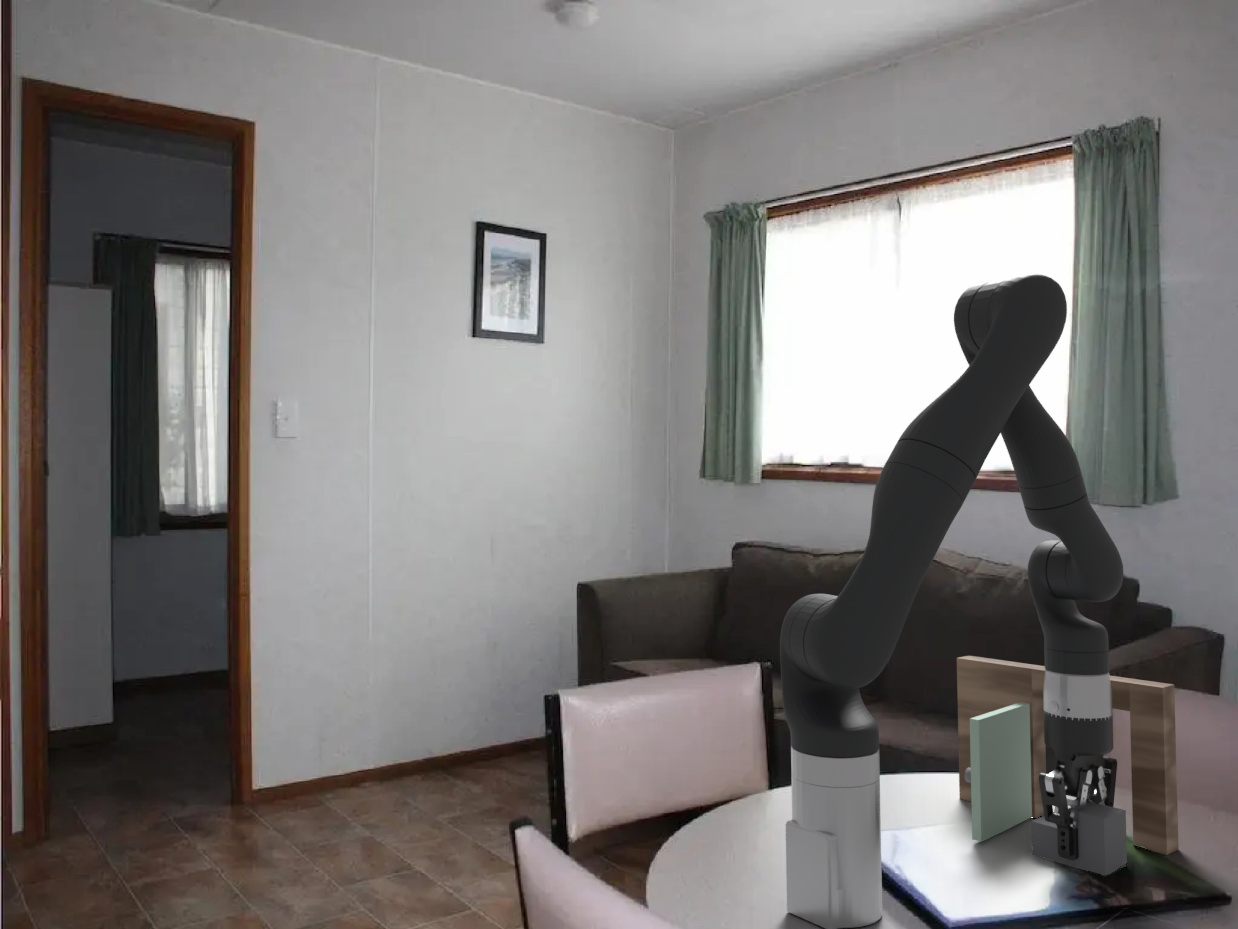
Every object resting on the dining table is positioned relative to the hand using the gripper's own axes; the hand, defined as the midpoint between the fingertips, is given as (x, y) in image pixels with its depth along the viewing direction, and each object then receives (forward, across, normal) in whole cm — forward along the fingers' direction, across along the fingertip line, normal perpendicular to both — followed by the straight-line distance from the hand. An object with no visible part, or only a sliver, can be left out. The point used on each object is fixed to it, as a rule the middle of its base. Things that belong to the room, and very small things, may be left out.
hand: (1080, 852), depth 120 cm
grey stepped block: (+1, 0, 0) cm, 1 cm away
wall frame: (+1, +11, +9) cm, 14 cm away
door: (0, +2, +12) cm, 12 cm away
